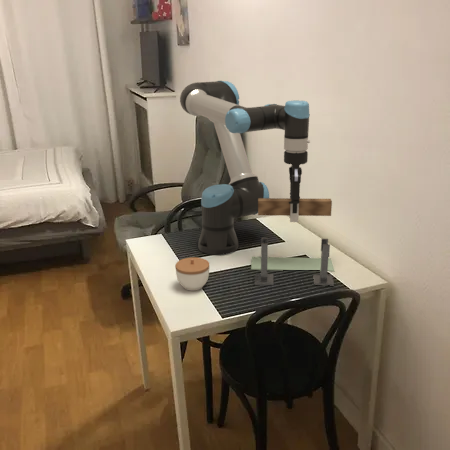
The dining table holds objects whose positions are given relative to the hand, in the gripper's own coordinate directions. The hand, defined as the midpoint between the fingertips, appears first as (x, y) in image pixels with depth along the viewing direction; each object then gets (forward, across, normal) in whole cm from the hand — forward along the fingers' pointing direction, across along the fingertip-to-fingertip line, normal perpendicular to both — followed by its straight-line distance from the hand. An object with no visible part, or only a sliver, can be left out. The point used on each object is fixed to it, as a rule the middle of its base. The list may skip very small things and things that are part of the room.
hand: (293, 219), depth 166 cm
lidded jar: (+17, -18, +32) cm, 41 cm away
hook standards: (+17, -13, 0) cm, 21 cm away
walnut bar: (-2, 0, 0) cm, 2 cm away
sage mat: (+17, 0, 0) cm, 17 cm away
